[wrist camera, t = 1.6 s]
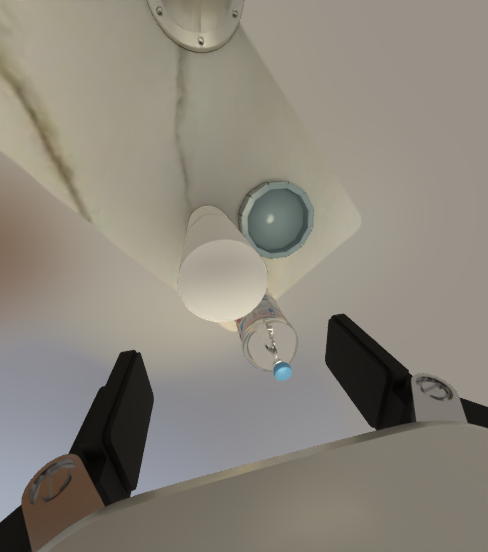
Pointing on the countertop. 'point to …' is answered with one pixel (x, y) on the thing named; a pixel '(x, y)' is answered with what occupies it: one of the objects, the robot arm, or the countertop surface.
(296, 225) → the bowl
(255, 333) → the water bottle
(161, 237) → the countertop surface
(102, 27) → the countertop surface
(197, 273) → the cylindrical container
